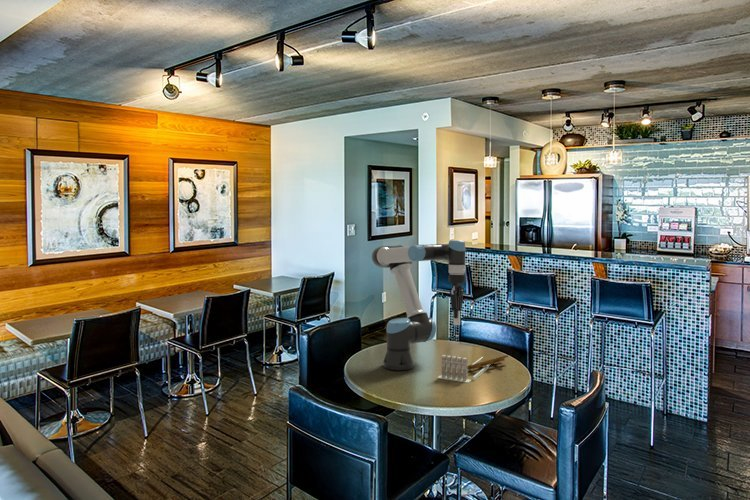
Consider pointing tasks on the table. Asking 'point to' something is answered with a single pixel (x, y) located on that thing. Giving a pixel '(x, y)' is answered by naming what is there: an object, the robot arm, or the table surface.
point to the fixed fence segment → (454, 367)
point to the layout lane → (480, 370)
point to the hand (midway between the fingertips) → (456, 324)
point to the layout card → (454, 379)
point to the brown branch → (486, 362)
